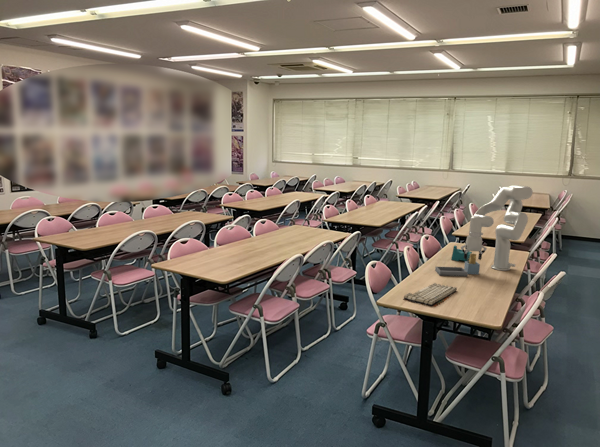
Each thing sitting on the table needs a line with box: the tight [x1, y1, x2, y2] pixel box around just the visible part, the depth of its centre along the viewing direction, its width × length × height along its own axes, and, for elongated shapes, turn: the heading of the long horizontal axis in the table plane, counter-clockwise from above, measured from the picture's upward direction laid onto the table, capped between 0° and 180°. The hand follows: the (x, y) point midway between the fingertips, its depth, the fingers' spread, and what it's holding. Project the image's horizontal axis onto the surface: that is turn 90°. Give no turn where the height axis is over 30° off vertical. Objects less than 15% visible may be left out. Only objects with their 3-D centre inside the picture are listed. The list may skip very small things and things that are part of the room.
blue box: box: [463, 260, 481, 275], centre depth 318 cm, size 8×8×7 cm
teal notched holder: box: [450, 245, 473, 262], centre depth 356 cm, size 18×11×10 cm, turn 149°
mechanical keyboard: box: [402, 282, 458, 308], centre depth 269 cm, size 38×19×3 cm, turn 142°
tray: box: [434, 265, 468, 278], centre depth 315 cm, size 18×12×3 cm, turn 88°
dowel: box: [468, 252, 477, 264], centre depth 318 cm, size 4×4×13 cm
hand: (472, 259), depth 317 cm, fingers open, 9 cm apart
